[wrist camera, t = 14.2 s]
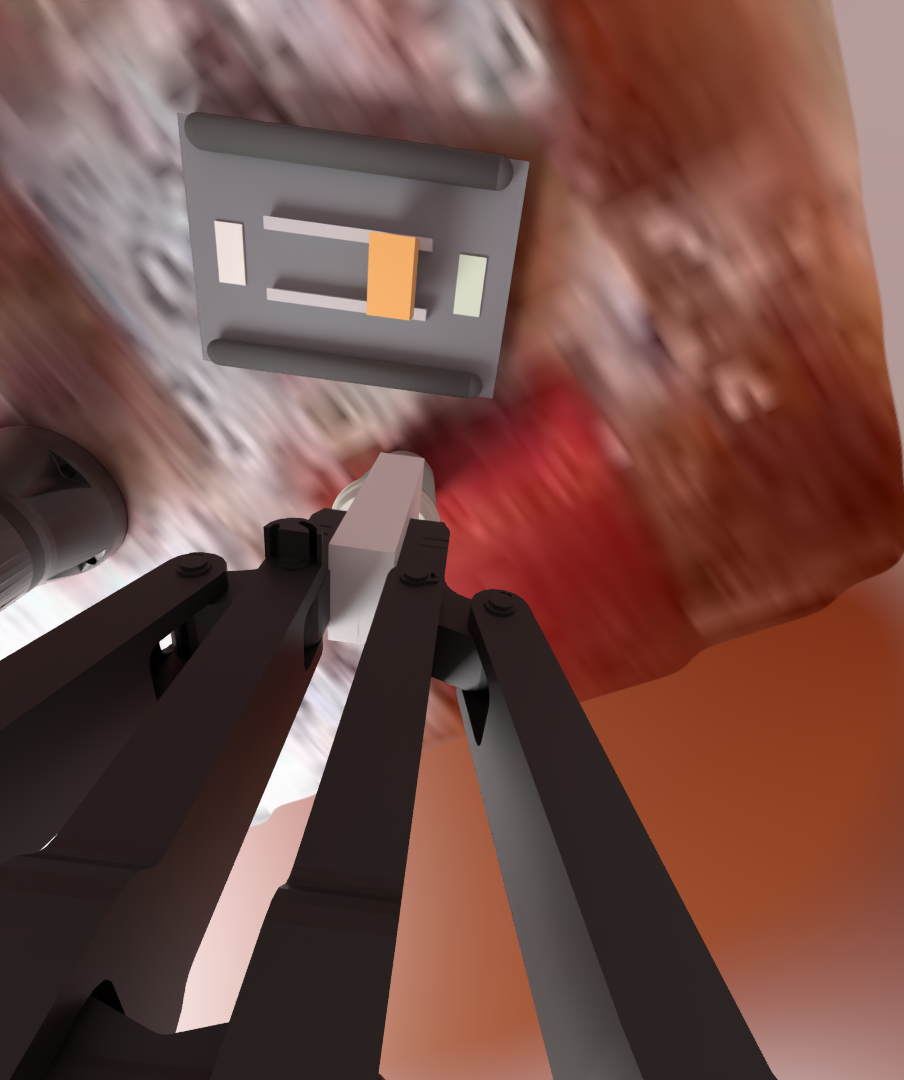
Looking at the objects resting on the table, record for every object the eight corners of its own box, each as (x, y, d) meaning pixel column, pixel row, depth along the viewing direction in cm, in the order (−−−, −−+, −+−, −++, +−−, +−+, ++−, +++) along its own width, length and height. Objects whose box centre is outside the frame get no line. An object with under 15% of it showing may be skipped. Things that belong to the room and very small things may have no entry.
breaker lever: (377, 310, 39) (366, 314, 35) (381, 235, 37) (369, 231, 33) (416, 315, 39) (409, 320, 35) (422, 241, 37) (415, 237, 33)
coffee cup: (346, 446, 47) (306, 497, 36) (436, 426, 45) (422, 474, 35) (373, 528, 50) (344, 596, 40) (457, 512, 49) (450, 578, 38)
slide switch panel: (214, 356, 43) (196, 362, 41) (192, 120, 36) (167, 107, 33) (492, 393, 44) (492, 402, 41) (527, 166, 36) (530, 158, 33)
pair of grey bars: (215, 361, 42) (203, 365, 40) (191, 114, 34) (176, 106, 32) (480, 397, 42) (480, 402, 40) (514, 159, 34) (516, 153, 33)
